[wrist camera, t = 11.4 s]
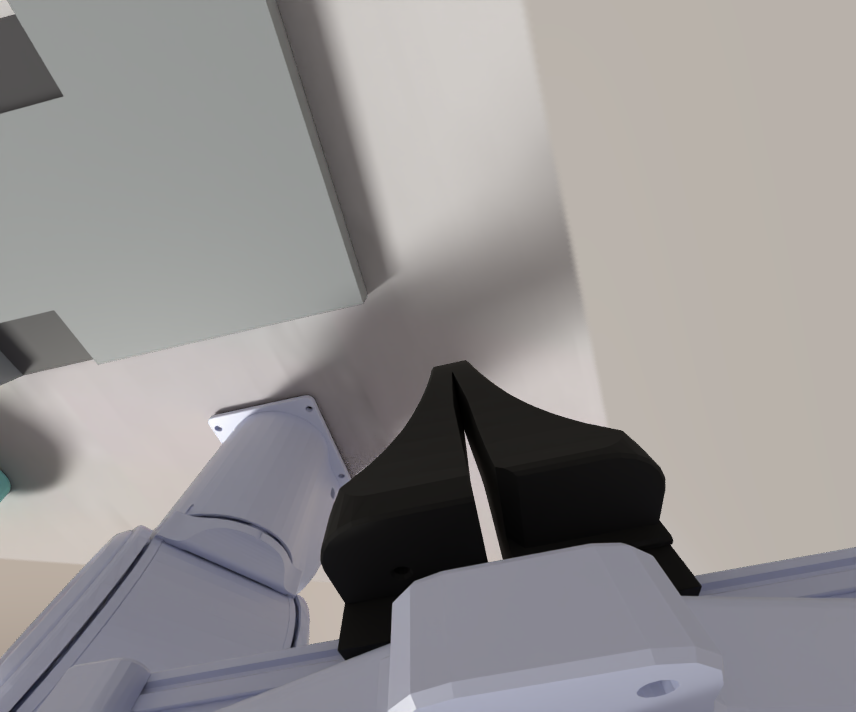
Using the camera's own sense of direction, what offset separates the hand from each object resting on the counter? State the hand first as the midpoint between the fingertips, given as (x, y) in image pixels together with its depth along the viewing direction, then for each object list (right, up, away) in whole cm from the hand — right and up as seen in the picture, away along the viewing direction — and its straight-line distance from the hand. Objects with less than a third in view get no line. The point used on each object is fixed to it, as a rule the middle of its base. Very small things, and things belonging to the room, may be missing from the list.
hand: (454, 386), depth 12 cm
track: (-21, +8, +5) cm, 23 cm away
